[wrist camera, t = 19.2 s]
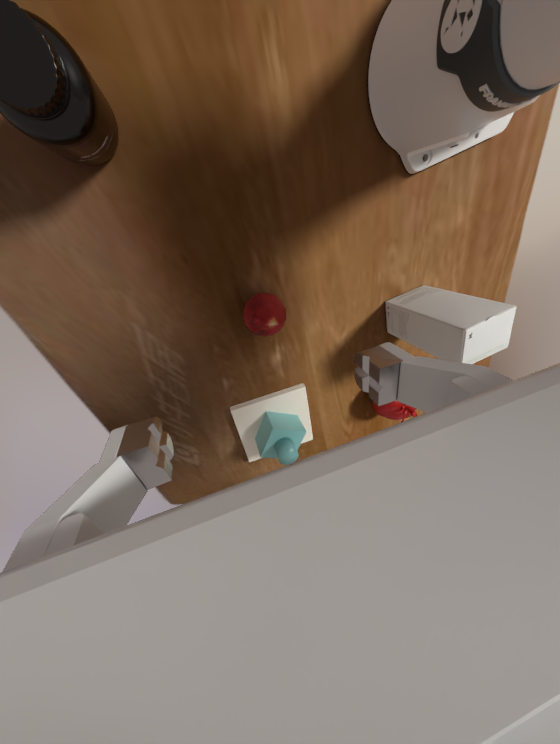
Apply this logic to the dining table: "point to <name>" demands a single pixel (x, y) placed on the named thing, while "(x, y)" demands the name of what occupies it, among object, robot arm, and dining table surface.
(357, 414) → the dining table surface
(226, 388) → the dining table surface
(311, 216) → the dining table surface
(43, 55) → the supplement bottle
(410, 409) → the pomegranate
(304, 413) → the post stand
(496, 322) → the skincare box
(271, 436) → the teal knobbed block
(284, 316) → the onion
